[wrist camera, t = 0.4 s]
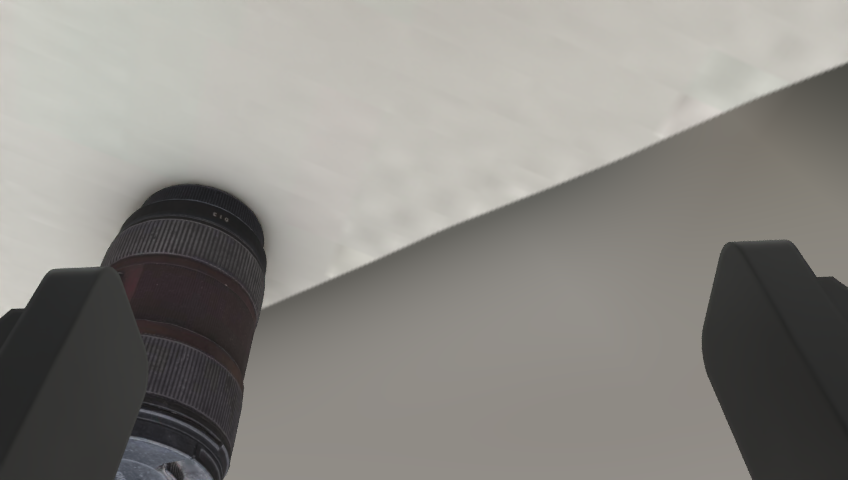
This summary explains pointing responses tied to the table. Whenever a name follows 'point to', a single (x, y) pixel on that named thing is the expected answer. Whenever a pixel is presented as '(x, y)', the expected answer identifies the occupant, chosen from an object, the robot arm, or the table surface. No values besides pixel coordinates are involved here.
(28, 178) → the table surface
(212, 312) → the camera lens
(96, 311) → the robot arm
